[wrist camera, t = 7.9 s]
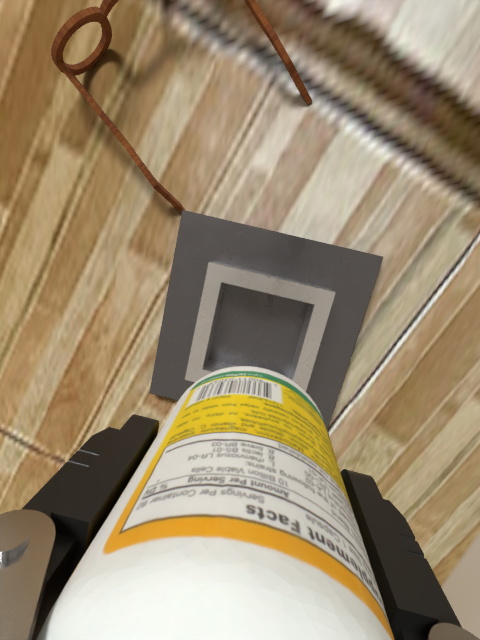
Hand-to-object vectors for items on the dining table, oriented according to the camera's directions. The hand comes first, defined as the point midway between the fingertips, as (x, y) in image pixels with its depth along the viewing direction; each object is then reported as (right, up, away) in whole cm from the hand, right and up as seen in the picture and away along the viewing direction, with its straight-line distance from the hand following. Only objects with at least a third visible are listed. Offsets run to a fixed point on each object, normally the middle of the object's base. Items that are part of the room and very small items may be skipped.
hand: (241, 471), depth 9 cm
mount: (+1, +4, +18) cm, 18 cm away
